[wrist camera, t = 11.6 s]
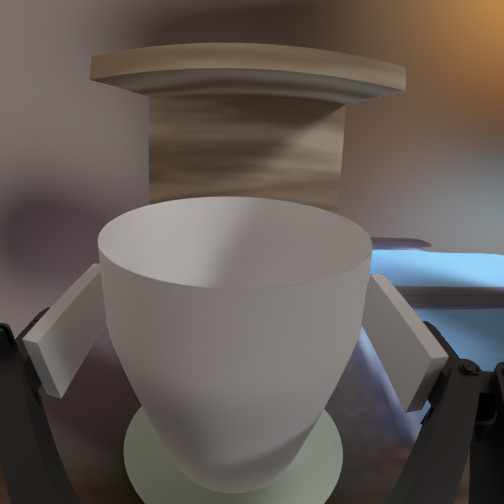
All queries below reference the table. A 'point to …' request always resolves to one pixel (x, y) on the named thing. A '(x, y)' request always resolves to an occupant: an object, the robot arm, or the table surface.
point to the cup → (233, 326)
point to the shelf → (246, 116)
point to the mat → (205, 500)
